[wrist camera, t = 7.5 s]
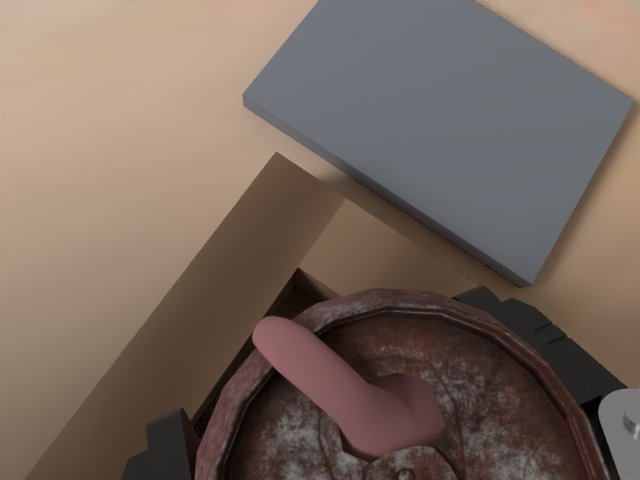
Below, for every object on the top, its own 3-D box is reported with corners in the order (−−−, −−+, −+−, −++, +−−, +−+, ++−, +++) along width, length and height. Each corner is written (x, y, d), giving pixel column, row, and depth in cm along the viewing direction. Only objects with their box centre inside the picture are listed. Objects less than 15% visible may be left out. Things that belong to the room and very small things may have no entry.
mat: (243, 105, 24) (242, 94, 23) (367, -47, 26) (370, -64, 25) (520, 288, 23) (532, 284, 22) (620, 111, 25) (634, 100, 24)
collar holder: (53, 481, 19) (7, 501, 16) (275, 185, 23) (276, 151, 19) (375, 719, 18) (399, 795, 15) (555, 373, 22) (607, 371, 18)
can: (307, 307, 22) (364, 182, 8) (434, 413, 21) (724, 470, 7) (201, 433, 20) (57, 537, 7) (335, 551, 20) (476, 935, 6)
